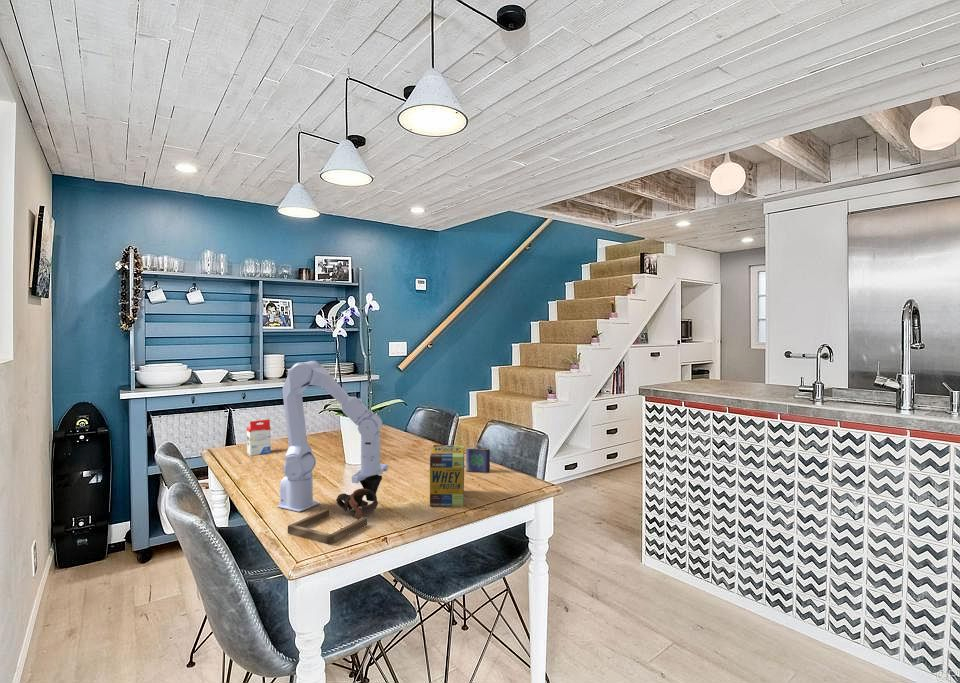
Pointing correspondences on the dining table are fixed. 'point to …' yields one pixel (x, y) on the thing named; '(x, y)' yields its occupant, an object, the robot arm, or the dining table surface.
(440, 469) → the protein box
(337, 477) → the dining table surface
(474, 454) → the navy clover print box
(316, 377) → the robot arm
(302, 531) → the walnut open-sided frame
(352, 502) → the dark brown curved piece
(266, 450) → the ink box
